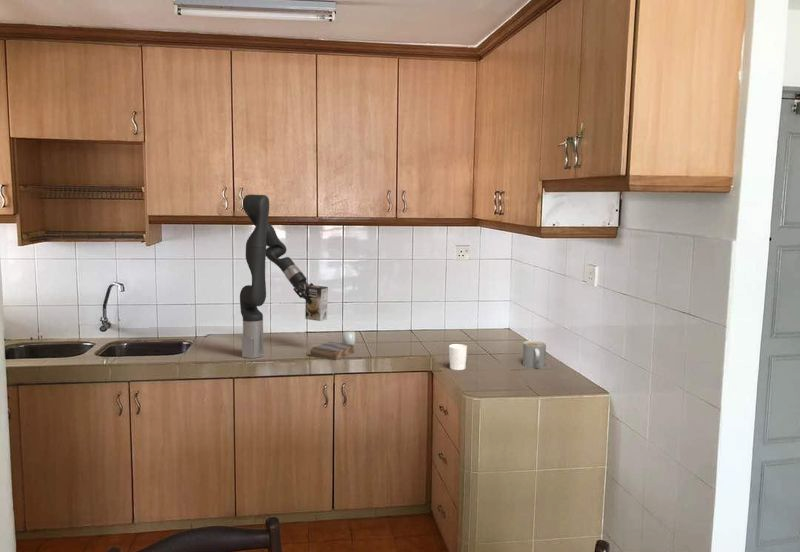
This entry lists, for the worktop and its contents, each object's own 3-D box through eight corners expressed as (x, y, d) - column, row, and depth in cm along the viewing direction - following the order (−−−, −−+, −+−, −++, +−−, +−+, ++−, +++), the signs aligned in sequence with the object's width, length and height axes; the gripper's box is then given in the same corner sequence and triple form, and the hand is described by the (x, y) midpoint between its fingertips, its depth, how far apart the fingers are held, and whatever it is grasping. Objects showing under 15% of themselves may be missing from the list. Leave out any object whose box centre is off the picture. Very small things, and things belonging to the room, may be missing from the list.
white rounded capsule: (351, 350, 317) (351, 334, 316) (340, 348, 319) (340, 332, 318) (357, 347, 322) (357, 331, 321) (347, 346, 325) (347, 330, 324)
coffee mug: (523, 361, 298) (523, 340, 297) (545, 362, 296) (545, 341, 294) (522, 369, 285) (522, 347, 284) (545, 370, 283) (546, 348, 282)
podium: (335, 360, 297) (335, 351, 297) (310, 356, 304) (310, 348, 303) (353, 352, 311) (353, 344, 311) (329, 349, 318) (329, 341, 317)
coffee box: (304, 319, 313) (304, 286, 311) (312, 317, 318) (312, 284, 316) (320, 321, 309) (320, 287, 307) (327, 319, 314) (328, 286, 312)
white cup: (445, 366, 288) (445, 344, 286) (461, 365, 291) (461, 343, 289) (454, 371, 280) (454, 348, 279) (469, 369, 284) (470, 347, 282)
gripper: (290, 272, 309) (311, 299, 305) (307, 269, 322) (327, 295, 318) (281, 282, 312) (301, 309, 308) (299, 279, 325) (318, 305, 321)
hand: (315, 302), depth 313 cm, fingers closed on coffee box, 6 cm apart
